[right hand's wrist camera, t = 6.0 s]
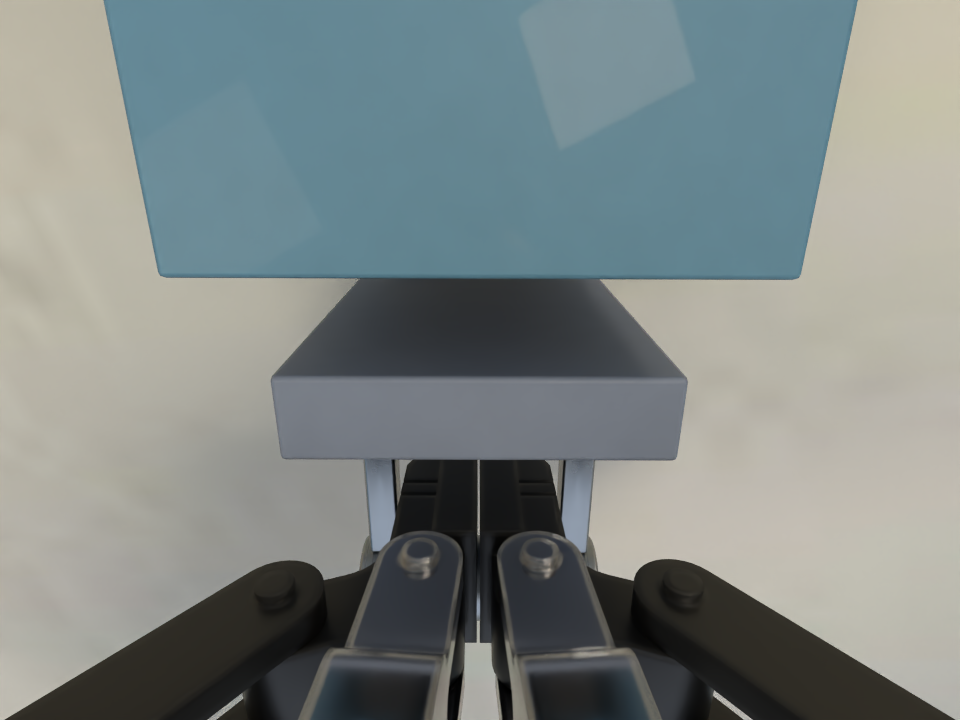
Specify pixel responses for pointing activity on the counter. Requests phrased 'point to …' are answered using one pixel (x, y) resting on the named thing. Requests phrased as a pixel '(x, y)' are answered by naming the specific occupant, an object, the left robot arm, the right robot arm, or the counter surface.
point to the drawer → (479, 387)
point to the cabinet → (480, 135)
